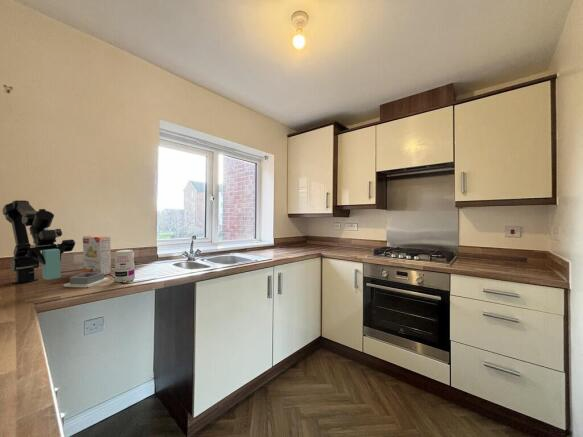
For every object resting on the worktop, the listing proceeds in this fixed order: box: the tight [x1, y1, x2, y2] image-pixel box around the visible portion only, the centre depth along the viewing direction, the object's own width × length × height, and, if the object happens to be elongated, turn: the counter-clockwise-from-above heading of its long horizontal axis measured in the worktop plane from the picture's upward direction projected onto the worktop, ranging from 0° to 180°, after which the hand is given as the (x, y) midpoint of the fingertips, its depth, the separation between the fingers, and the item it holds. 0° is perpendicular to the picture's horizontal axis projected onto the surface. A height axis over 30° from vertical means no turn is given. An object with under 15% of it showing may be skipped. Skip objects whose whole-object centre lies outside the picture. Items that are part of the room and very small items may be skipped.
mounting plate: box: [63, 272, 110, 288], centre depth 121 cm, size 12×12×4 cm
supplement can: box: [113, 249, 136, 283], centre depth 125 cm, size 8×8×15 cm
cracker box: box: [82, 234, 112, 276], centre depth 138 cm, size 14×6×21 cm, turn 69°
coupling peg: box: [41, 249, 62, 281], centre depth 107 cm, size 4×4×12 cm
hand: (52, 262), depth 106 cm, fingers closed on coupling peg, 4 cm apart
